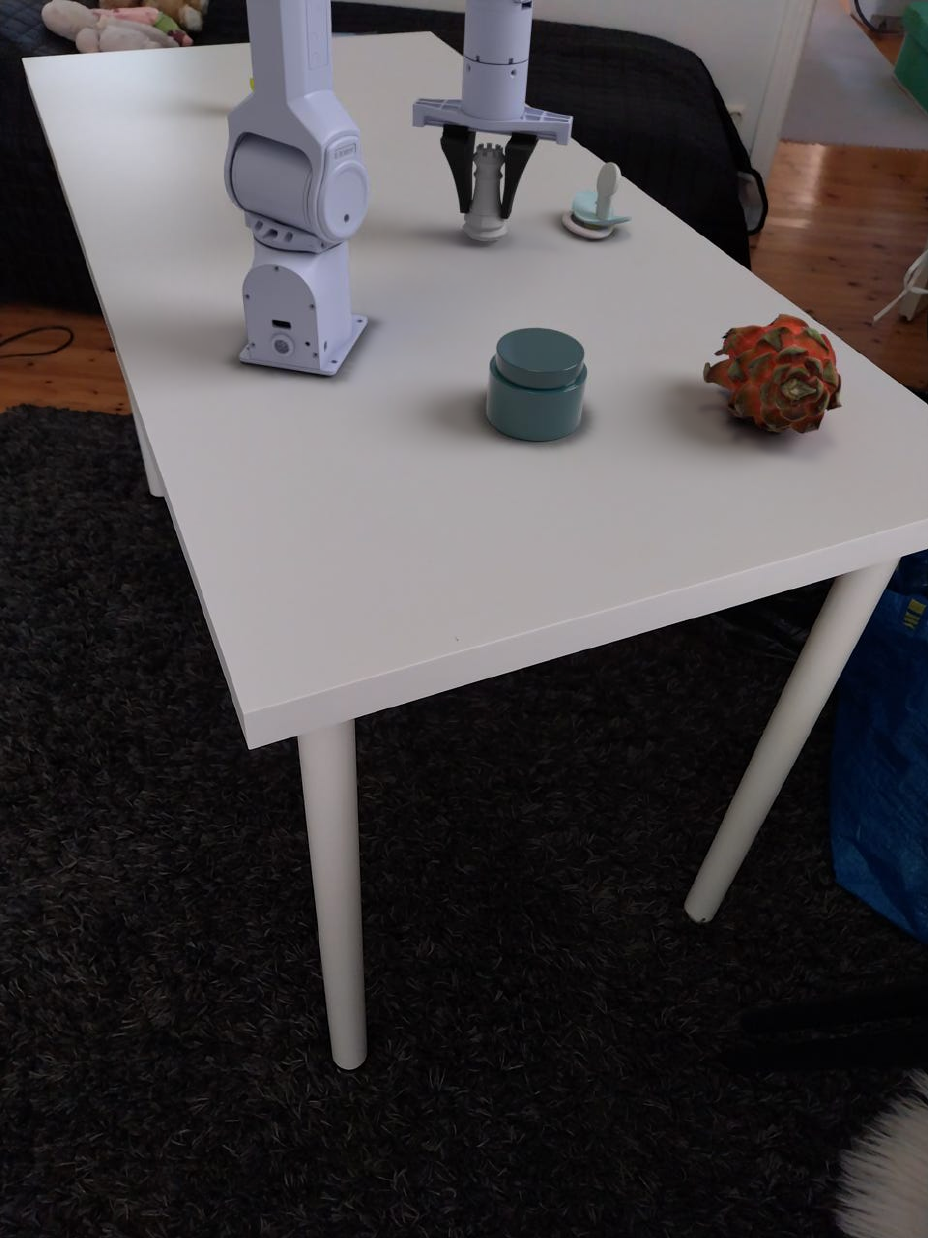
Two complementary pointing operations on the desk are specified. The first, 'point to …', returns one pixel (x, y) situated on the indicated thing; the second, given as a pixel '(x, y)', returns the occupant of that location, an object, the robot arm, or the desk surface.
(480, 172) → the rook chess piece
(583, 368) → the teal jar with lid
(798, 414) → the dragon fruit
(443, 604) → the desk surface
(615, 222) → the pacifier
